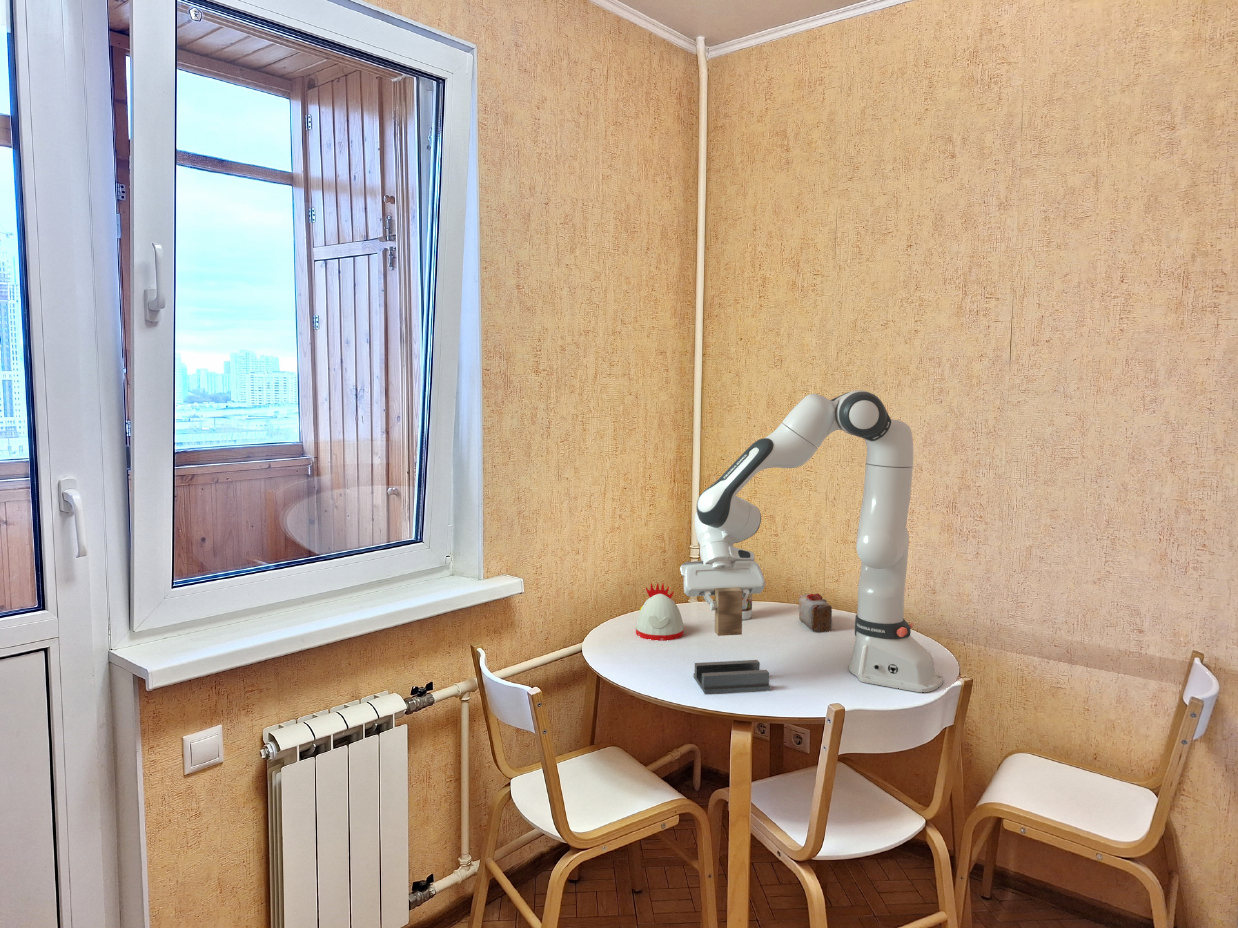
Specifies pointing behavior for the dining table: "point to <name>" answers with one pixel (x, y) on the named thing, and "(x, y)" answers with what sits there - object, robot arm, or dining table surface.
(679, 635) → the kitchen timer
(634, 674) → the dining table surface
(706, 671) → the door track
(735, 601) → the wooden block
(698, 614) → the dining table surface
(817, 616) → the food item
